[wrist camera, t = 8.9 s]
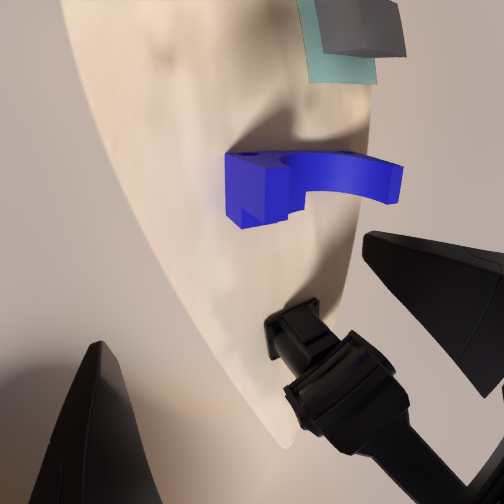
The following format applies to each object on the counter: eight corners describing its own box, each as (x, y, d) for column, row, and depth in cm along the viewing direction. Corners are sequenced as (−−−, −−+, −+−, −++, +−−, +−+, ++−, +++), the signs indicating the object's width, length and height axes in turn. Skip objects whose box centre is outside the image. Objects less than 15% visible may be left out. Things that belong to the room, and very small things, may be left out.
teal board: (373, 84, 20) (377, 84, 20) (309, 82, 18) (313, 82, 17) (358, -7, 15) (362, -8, 14) (291, -24, 12) (294, -26, 12)
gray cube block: (365, 58, 18) (406, 57, 14) (323, 53, 16) (366, 47, 13) (357, 10, 15) (397, 3, 12) (313, 0, 14) (354, -14, 10)
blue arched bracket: (225, 214, 20) (263, 249, 15) (223, 153, 18) (265, 168, 13) (345, 197, 25) (394, 220, 20) (350, 151, 23) (403, 166, 18)
